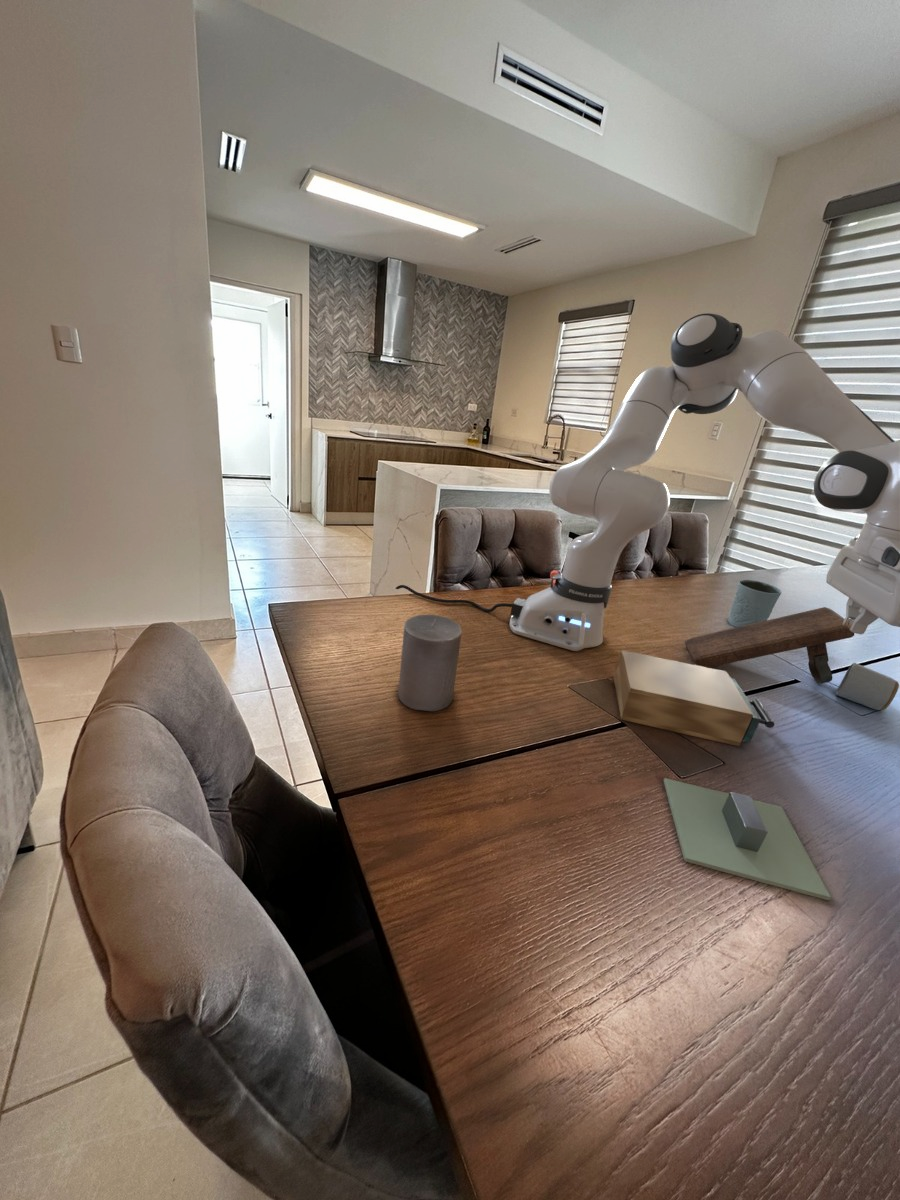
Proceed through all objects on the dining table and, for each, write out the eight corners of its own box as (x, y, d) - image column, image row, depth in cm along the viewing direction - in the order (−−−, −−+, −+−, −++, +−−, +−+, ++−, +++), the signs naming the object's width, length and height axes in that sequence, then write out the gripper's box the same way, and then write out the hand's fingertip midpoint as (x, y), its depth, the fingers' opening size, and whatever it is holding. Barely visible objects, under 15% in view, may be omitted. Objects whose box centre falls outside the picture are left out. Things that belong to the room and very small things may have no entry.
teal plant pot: (765, 625, 134) (781, 586, 129) (765, 637, 126) (782, 596, 121) (725, 614, 138) (740, 576, 134) (723, 625, 130) (738, 585, 126)
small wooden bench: (709, 716, 108) (864, 688, 98) (694, 658, 103) (855, 623, 94) (697, 692, 117) (837, 664, 108) (683, 638, 113) (828, 604, 103)
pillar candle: (427, 675, 89) (435, 603, 83) (464, 700, 83) (475, 624, 77) (386, 692, 83) (392, 614, 77) (422, 720, 76) (432, 638, 71)
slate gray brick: (735, 846, 59) (745, 826, 58) (721, 810, 65) (730, 791, 64) (757, 852, 59) (768, 832, 58) (741, 815, 64) (750, 796, 63)
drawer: (748, 704, 91) (758, 683, 89) (776, 748, 79) (787, 725, 77) (628, 678, 95) (635, 658, 93) (637, 717, 83) (645, 694, 81)
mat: (684, 861, 57) (685, 858, 57) (663, 780, 70) (664, 777, 70) (829, 901, 54) (831, 897, 54) (780, 809, 67) (781, 806, 67)
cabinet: (715, 699, 93) (726, 671, 91) (739, 746, 80) (753, 714, 77) (613, 678, 96) (621, 649, 94) (620, 719, 83) (630, 688, 81)
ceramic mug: (884, 718, 94) (902, 685, 91) (834, 699, 99) (850, 668, 96) (883, 699, 101) (901, 669, 99) (837, 683, 106) (852, 653, 103)
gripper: (835, 528, 80) (802, 602, 86) (912, 562, 62) (864, 654, 67) (877, 535, 79) (841, 609, 84) (968, 571, 61) (915, 664, 66)
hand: (852, 630), depth 76 cm, fingers closed
